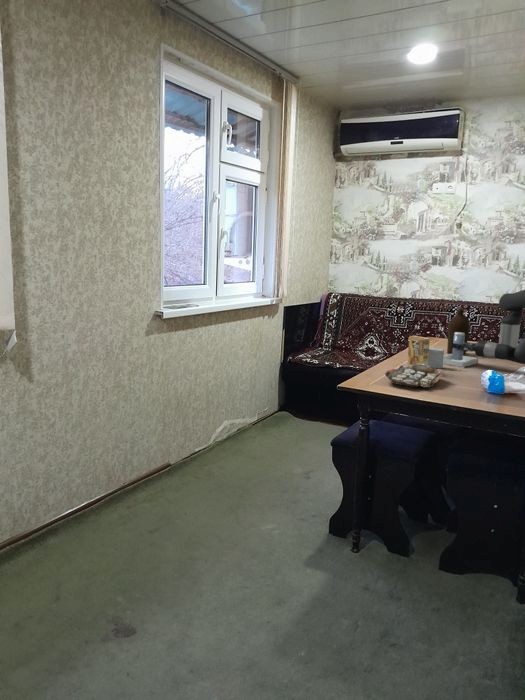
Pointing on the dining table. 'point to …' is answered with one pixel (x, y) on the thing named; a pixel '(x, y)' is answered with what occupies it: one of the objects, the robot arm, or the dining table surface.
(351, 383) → the dining table surface
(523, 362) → the robot arm
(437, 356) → the medicine box
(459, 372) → the dining table surface
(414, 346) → the candy box
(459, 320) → the brown bottle
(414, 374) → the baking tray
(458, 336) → the shaker
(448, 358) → the tray
